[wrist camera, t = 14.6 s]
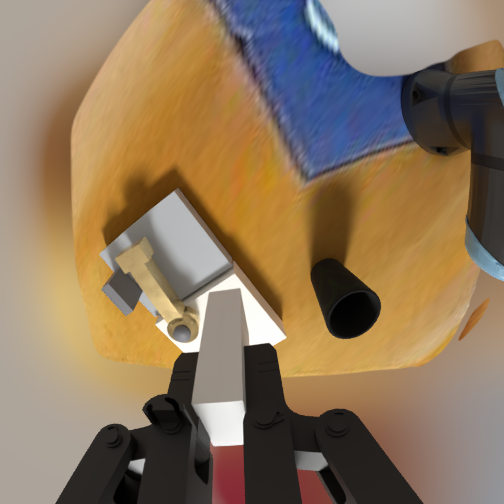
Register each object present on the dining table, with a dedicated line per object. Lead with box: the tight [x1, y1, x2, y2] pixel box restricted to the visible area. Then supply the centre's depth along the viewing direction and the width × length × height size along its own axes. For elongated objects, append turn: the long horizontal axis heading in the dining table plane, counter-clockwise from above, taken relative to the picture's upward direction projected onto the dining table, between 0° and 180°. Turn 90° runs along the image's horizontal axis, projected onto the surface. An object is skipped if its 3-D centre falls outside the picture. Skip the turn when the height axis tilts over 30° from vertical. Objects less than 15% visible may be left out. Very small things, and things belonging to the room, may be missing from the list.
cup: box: [311, 259, 381, 339], centre depth 39 cm, size 8×8×12 cm
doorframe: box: [99, 188, 287, 353], centre depth 39 cm, size 15×28×9 cm, turn 34°
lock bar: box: [115, 237, 200, 343], centre depth 36 cm, size 4×15×3 cm, turn 26°
